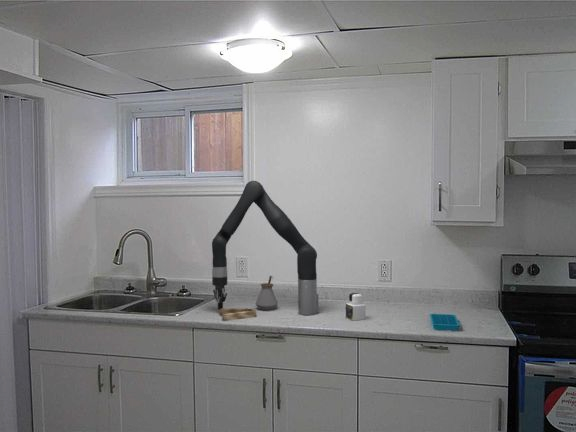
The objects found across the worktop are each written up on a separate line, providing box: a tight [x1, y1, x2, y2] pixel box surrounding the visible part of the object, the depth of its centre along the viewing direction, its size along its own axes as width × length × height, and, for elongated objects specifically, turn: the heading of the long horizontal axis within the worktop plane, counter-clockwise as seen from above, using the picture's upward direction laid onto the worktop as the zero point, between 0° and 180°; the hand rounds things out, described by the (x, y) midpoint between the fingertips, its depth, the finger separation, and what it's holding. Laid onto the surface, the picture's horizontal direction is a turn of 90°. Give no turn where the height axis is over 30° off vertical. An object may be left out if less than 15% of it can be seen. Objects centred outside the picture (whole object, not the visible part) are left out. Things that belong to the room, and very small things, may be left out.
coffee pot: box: [255, 275, 279, 312], centre depth 275 cm, size 21×12×15 cm, turn 173°
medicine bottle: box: [345, 292, 367, 322], centre depth 249 cm, size 7×7×12 cm
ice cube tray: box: [429, 313, 460, 332], centre depth 236 cm, size 12×20×3 cm, turn 168°
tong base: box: [221, 308, 257, 322], centre depth 251 cm, size 18×3×3 cm, turn 119°
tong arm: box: [219, 307, 253, 316], centre depth 257 cm, size 17×2×3 cm, turn 89°
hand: (220, 309), depth 263 cm, fingers closed
